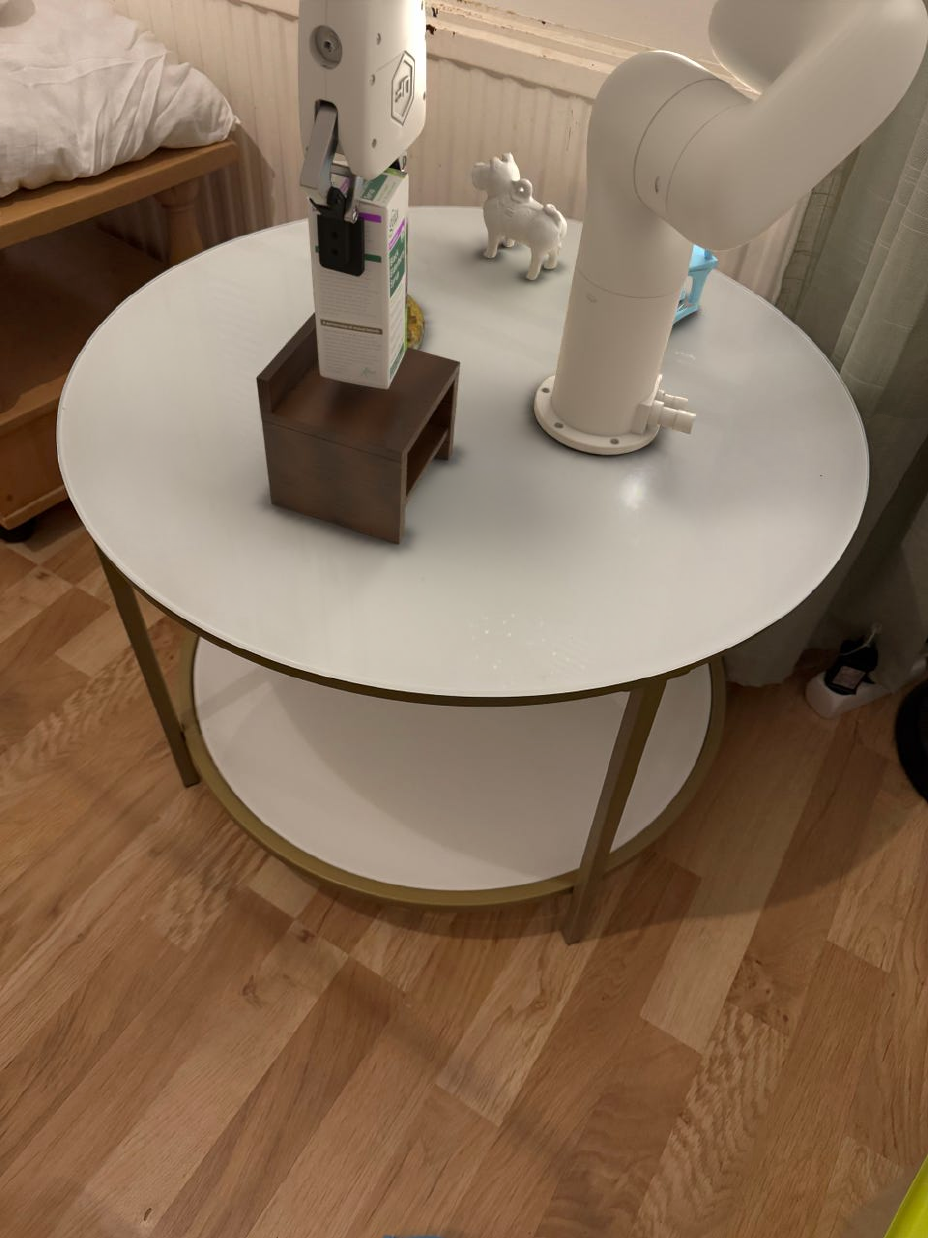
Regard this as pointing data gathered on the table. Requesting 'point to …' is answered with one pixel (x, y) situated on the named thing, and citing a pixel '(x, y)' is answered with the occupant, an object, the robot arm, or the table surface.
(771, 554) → the table surface
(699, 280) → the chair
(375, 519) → the shelf
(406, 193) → the syrup box
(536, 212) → the dog figurine
